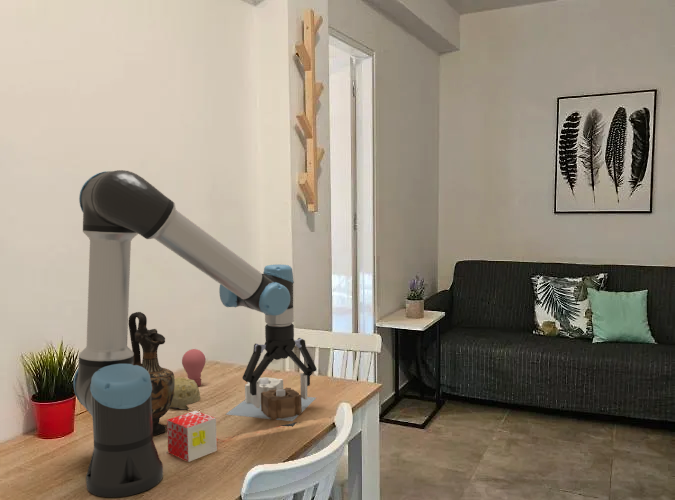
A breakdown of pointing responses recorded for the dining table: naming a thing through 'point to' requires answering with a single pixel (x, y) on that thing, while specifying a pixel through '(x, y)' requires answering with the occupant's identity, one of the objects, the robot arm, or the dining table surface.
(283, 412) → the walnut gear
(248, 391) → the gear
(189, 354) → the light bulb
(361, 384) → the dining table surface
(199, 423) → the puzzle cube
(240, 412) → the gear board
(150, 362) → the vase
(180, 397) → the decorative item
